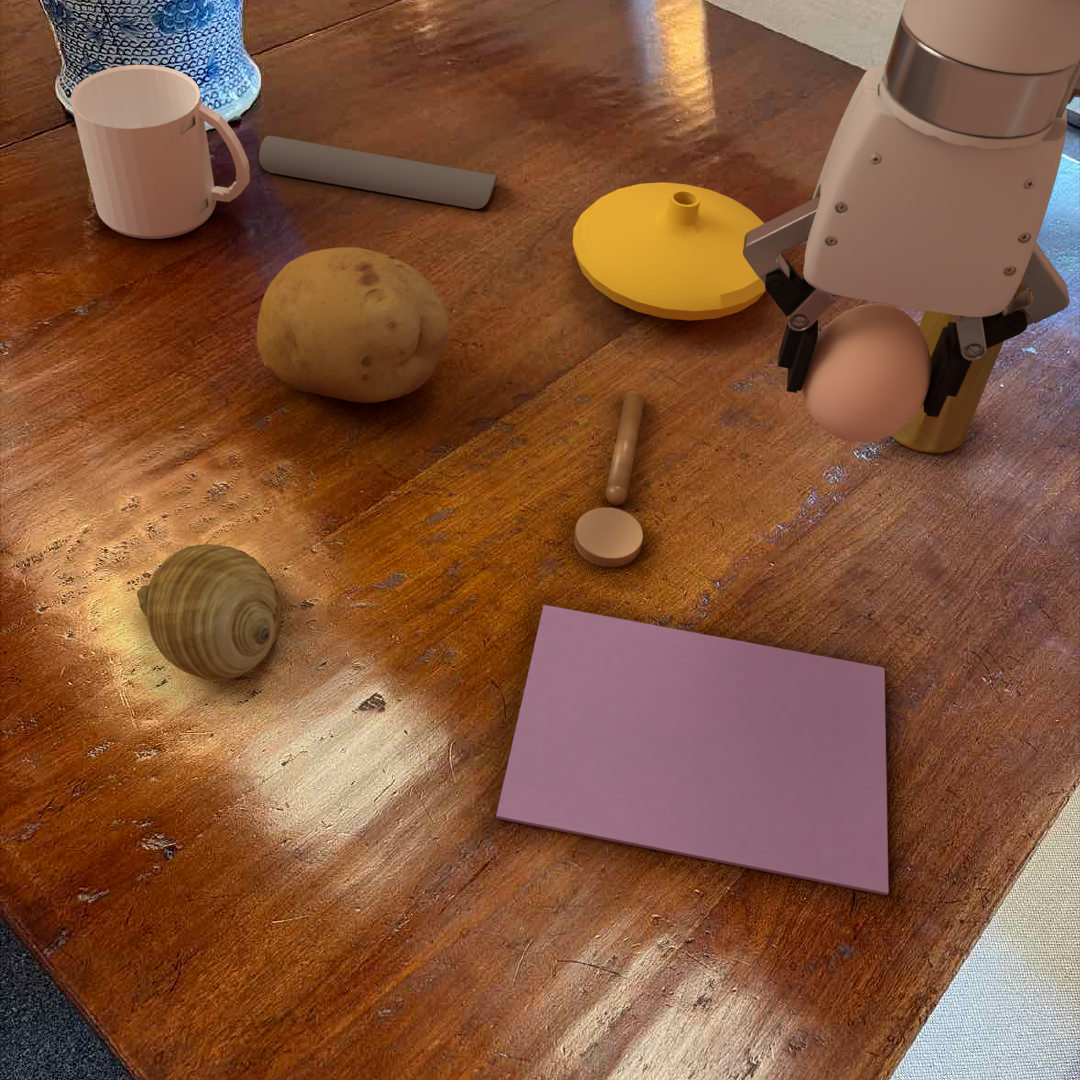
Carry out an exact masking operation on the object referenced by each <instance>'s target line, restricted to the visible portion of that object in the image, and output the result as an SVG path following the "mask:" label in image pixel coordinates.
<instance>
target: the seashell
mask: <svg viewBox="0 0 1080 1080" xmlns="http://www.w3.org/2000/svg"><path fill="white" fill-rule="evenodd" d="M136 597H137V598H138V604H139V605H138V606H139V608H140V610H141V612H142V613H143V615H144V616H145V617H146V619H147V624H148V629H149V632H150V637H151V639H152V641H153V643H154V644H155V646H156V648H157V649H158V651H159V652H160V653H161V655H162V656H163V657H164V658H165V659H166V660H167V661H168V662H169V663H170V664H171V665H173V666H175V667H176V668H178V669H179V670H181V671H183V672H184V673H187V674H188V675H190V676H194V677H195V678H200V679H203V680H211V681H223V680H229V679H233V678H236V677H239V676H242V675H245V674H246V673H248V672H249V671H251V670H252V669H254V668H255V667H256V666H257V665H259V664H260V663H261V662H262V661H263V660H264V659H265V658H266V656H267V655H268V654H269V652H270V650H271V648H272V647H274V646H275V644H276V642H277V640H278V638H279V635H280V633H281V630H282V607H281V601H280V595H279V592H278V589H277V587H276V584H275V581H274V579H273V578H272V576H271V574H269V572H268V571H267V569H266V568H265V566H263V565H262V564H261V563H260V562H259V561H258V560H257V559H256V558H254V557H253V556H252V555H249V554H248V553H247V552H246V551H243V550H240V549H237V548H235V547H232V546H226V545H220V544H213V543H212V544H211V543H209V544H206V543H205V544H195V545H190V546H187V547H185V548H183V549H180V550H177V551H175V552H174V553H173V554H172V555H170V556H168V557H167V558H166V559H165V560H164V561H163V562H162V563H161V564H160V565H159V566H158V568H157V569H156V570H155V572H154V573H153V575H152V577H151V580H150V582H149V584H146V585H142V586H141V587H140V588H139V590H137V593H136Z"/></svg>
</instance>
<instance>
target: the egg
mask: <svg viewBox="0 0 1080 1080" xmlns="http://www.w3.org/2000/svg"><path fill="white" fill-rule="evenodd" d="M931 368H932V364H931V358H930V353H929V348H928V344H927V342H926V339H925V337H924V335H923V332H922V330H921V328H920V327H919V324H918V322H916V320H914V319H913V318H912V317H911V316H910V315H909V314H908V313H906V312H905V311H904V310H902V309H900V308H897V307H896V306H894V305H890V304H884V303H878V302H876V303H867V304H861V305H858V306H856V307H853V308H851V309H848V310H846V311H843V312H842V313H841V314H839V315H837V316H836V317H835V318H834V319H832V320H831V321H830V322H829V323H828V324H827V325H826V326H825V327H824V328H823V329H822V330H820V332H818V337H817V342H816V345H815V348H814V351H813V355H812V358H811V361H810V364H809V367H808V370H807V374H806V377H805V380H804V383H803V386H802V389H801V394H802V398H803V403H804V405H805V407H806V409H807V411H808V413H809V414H810V416H811V417H812V419H813V420H814V421H815V422H816V423H817V424H818V426H820V428H821V429H823V430H824V431H825V432H827V433H828V434H830V435H832V436H834V437H835V438H837V439H839V440H843V441H848V442H850V443H851V442H852V443H871V442H877V441H881V440H883V439H885V438H888V437H891V435H893V434H895V433H897V432H898V431H900V430H901V429H902V428H904V427H905V426H906V425H907V424H909V423H910V422H911V421H912V420H913V419H914V418H915V416H916V415H917V413H918V412H919V410H920V408H921V407H922V405H923V404H924V401H925V398H926V395H927V392H928V389H929V386H930V379H931Z"/></svg>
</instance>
